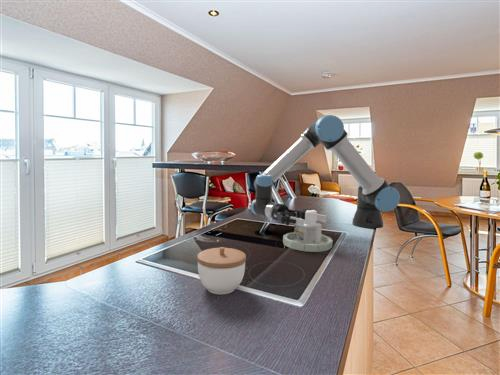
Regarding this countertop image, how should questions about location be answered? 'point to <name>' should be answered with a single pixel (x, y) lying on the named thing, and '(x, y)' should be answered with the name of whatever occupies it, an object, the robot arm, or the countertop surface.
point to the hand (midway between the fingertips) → (314, 221)
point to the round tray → (293, 244)
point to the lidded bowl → (221, 269)
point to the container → (308, 228)
